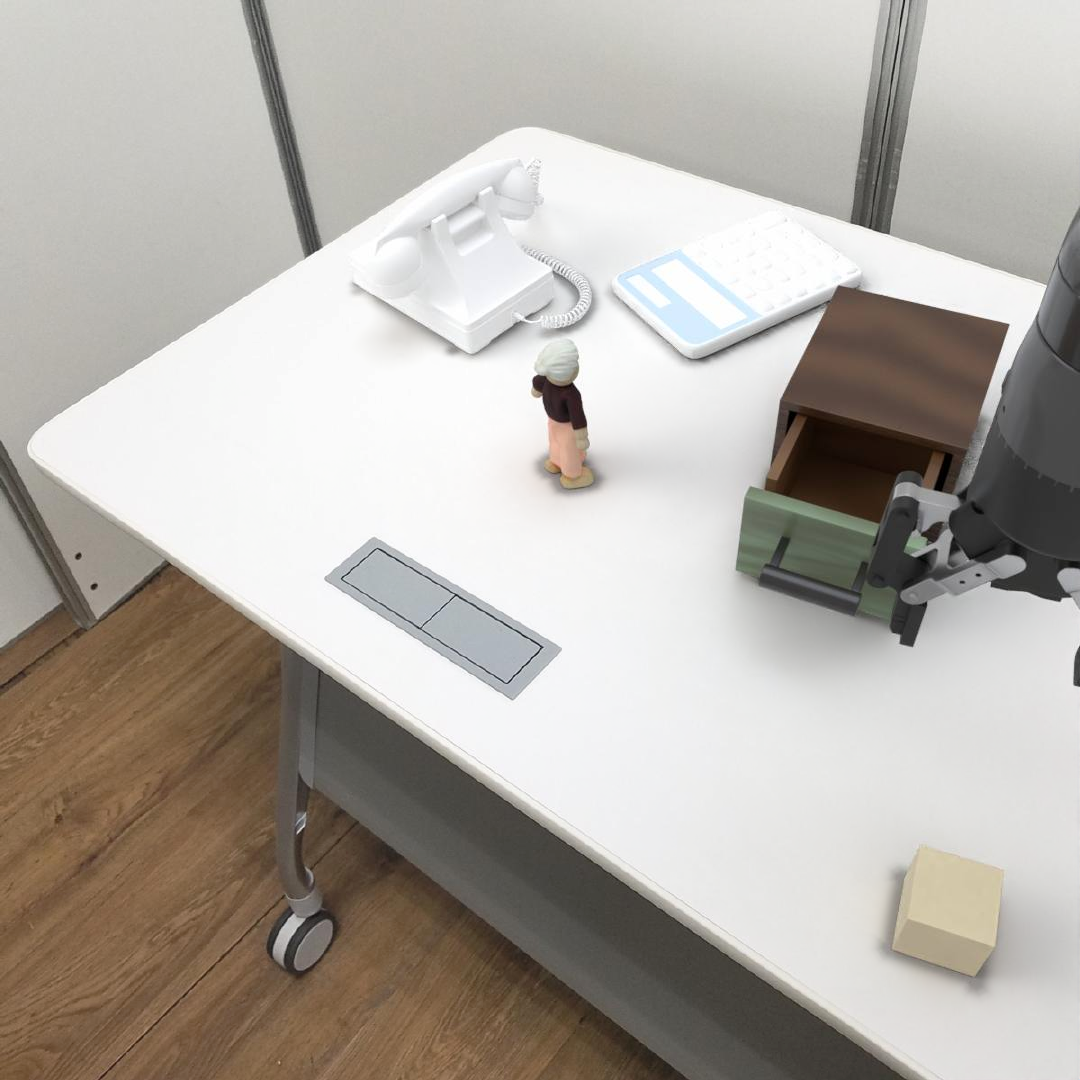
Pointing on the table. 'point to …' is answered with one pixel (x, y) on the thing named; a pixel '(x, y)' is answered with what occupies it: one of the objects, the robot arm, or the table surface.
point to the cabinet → (896, 375)
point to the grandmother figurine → (563, 412)
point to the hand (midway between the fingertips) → (993, 653)
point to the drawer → (828, 514)
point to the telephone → (466, 258)
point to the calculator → (735, 283)
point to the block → (949, 910)
